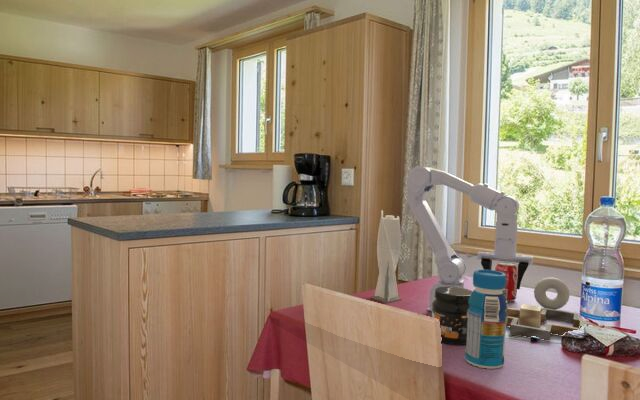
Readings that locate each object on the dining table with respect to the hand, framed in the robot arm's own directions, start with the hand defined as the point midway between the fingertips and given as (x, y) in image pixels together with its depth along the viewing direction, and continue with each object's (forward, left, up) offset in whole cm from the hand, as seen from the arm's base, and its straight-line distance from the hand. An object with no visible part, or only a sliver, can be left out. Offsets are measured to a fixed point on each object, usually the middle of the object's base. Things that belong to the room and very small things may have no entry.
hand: (503, 286), depth 141 cm
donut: (+23, -1, -10) cm, 25 cm away
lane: (+4, -9, -9) cm, 13 cm away
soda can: (+20, +13, -10) cm, 26 cm away
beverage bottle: (-31, -17, -10) cm, 36 cm away
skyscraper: (-14, +33, -10) cm, 37 cm away
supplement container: (-25, -3, -10) cm, 27 cm away
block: (+3, -7, -10) cm, 12 cm away
